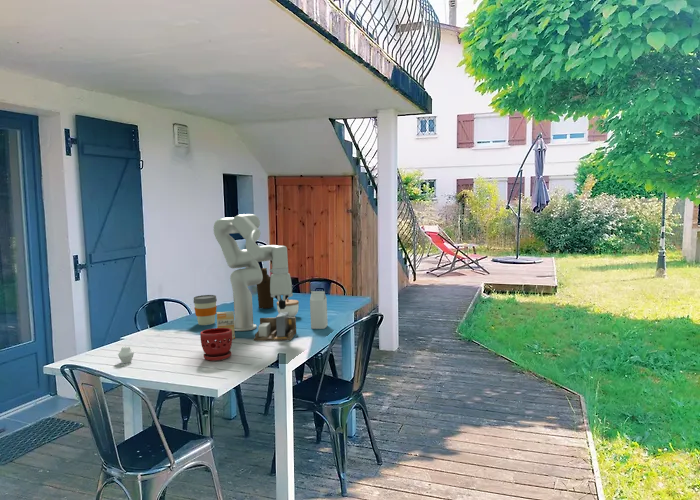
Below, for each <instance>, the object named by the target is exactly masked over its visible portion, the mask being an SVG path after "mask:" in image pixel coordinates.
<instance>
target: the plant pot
mask: <svg viewBox="0 0 700 500" xmlns="http://www.w3.org/2000/svg"><path fill="white" fill-rule="evenodd" d="M199 335H200V343H201V348H202V350H203V352H204V354H203V358H204V359H205V360H207V361H214V362H216V361H218V362H219V361H223V360H226V359H228V358H230V357H231V356H232V351H231V348H232V345H233V339H232V330H231V329H230V328H217V327H215V328H208V329H204V330H202V331H200V332H199ZM224 339H225V340H224Z"/></svg>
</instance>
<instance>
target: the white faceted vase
mask: <svg viewBox="0 0 700 500" xmlns="http://www.w3.org/2000/svg"><path fill="white" fill-rule="evenodd" d="M117 355H118V358H119V359H120V362H121V363H122V364H128V363H129V364H130V363H131V362H132V359H133V357H134V355H135V353H134V351H133V350H132V349H131V347H130V346H127V345H124V346H122V347H121V349H120V351H119V352H118V353H117Z"/></svg>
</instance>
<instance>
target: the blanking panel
mask: <svg viewBox="0 0 700 500" xmlns="http://www.w3.org/2000/svg"><path fill="white" fill-rule="evenodd" d="M275 318H276V328H277V337H286V336H287V334H288V333H289V312H281V313H278V314H277V316H275Z"/></svg>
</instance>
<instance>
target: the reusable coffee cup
mask: <svg viewBox="0 0 700 500" xmlns="http://www.w3.org/2000/svg"><path fill="white" fill-rule="evenodd" d="M193 304H194V312H195V317H196V319H197V324H198V325H199V326H207V325H213V324H215V323H216V315H217V295H215V294H205V295H204V294H203V295H196V296H194V297H193Z"/></svg>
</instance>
